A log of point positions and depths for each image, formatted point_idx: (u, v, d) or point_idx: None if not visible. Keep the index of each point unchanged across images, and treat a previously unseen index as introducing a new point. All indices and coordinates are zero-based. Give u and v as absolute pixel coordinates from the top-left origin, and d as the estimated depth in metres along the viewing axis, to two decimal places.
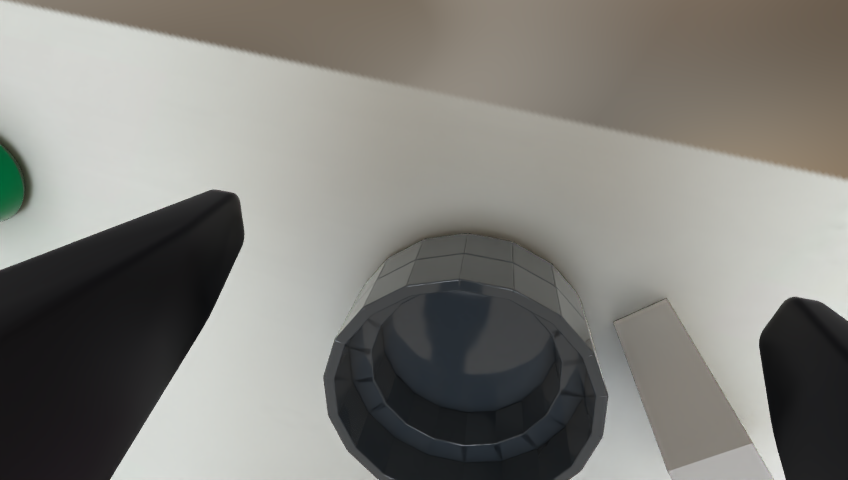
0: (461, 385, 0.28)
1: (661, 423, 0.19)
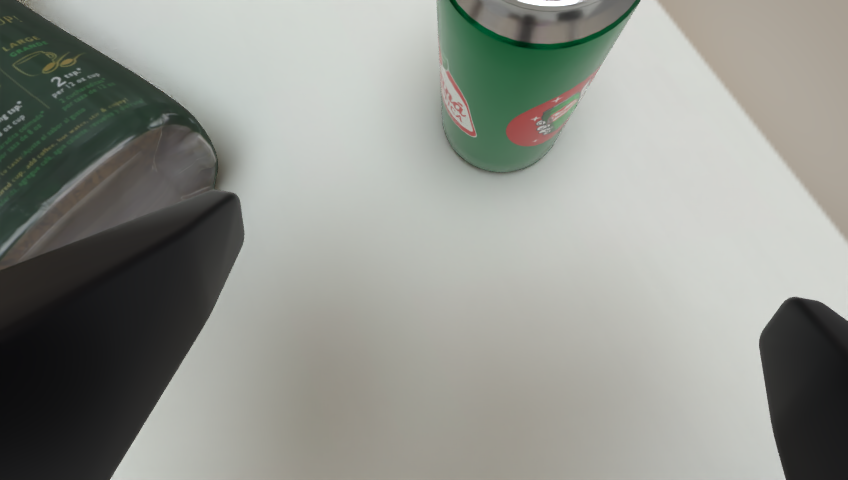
0: None
1: None
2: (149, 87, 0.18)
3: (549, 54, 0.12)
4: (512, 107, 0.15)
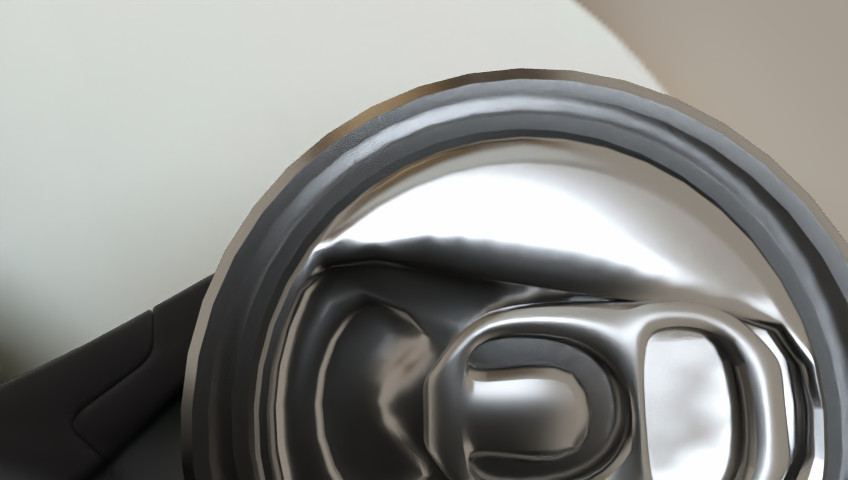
0: None
1: None
2: None
3: None
4: None
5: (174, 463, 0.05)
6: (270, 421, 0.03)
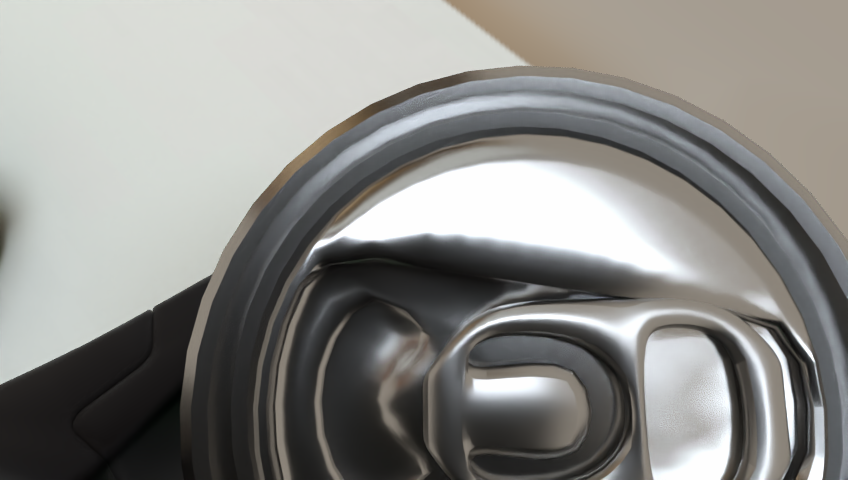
0: None
1: None
2: None
3: None
4: None
5: (174, 463, 0.05)
6: (270, 417, 0.03)
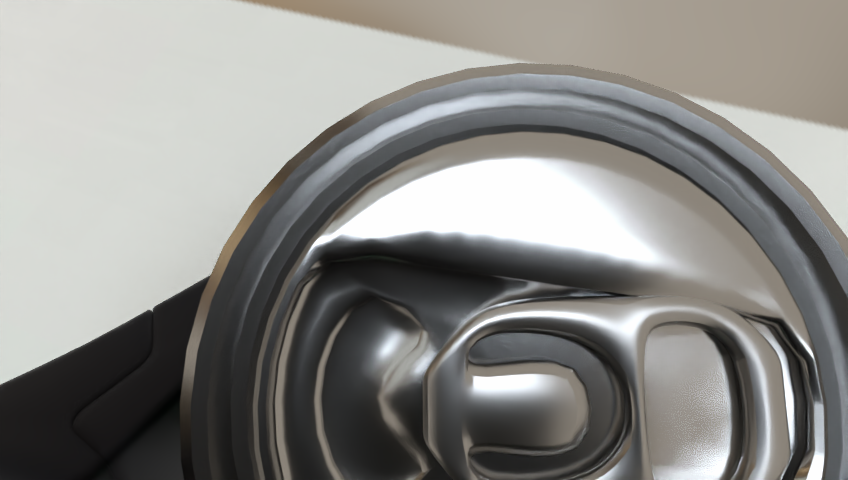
0: None
1: None
2: None
3: None
4: None
5: (174, 463, 0.05)
6: (268, 416, 0.03)
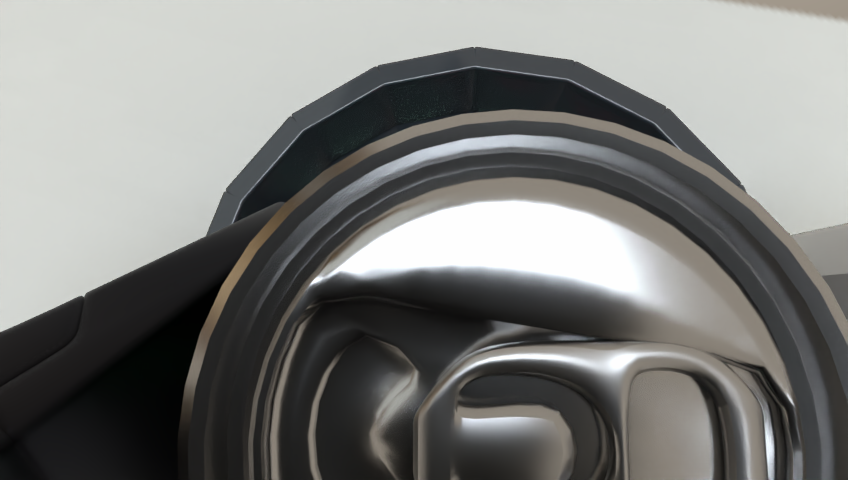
0: None
1: None
2: None
3: None
4: None
5: (96, 445, 0.05)
6: (265, 452, 0.03)
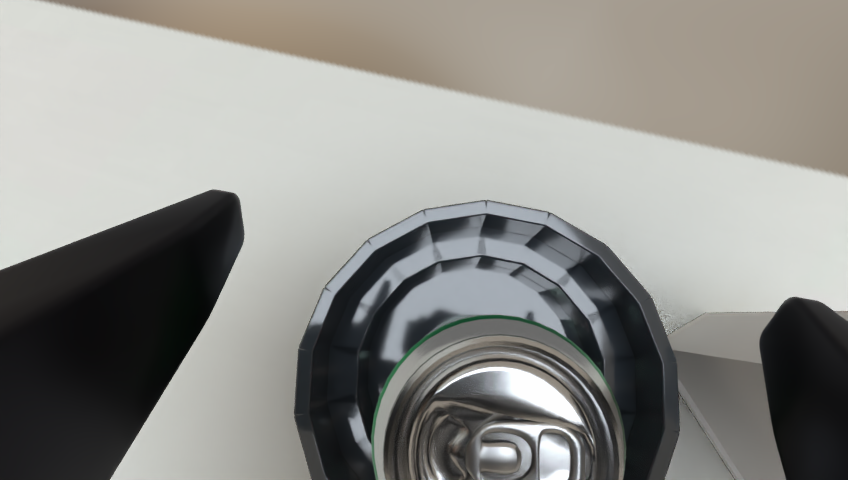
0: None
1: None
2: None
3: None
4: None
5: None
6: (414, 456, 0.09)
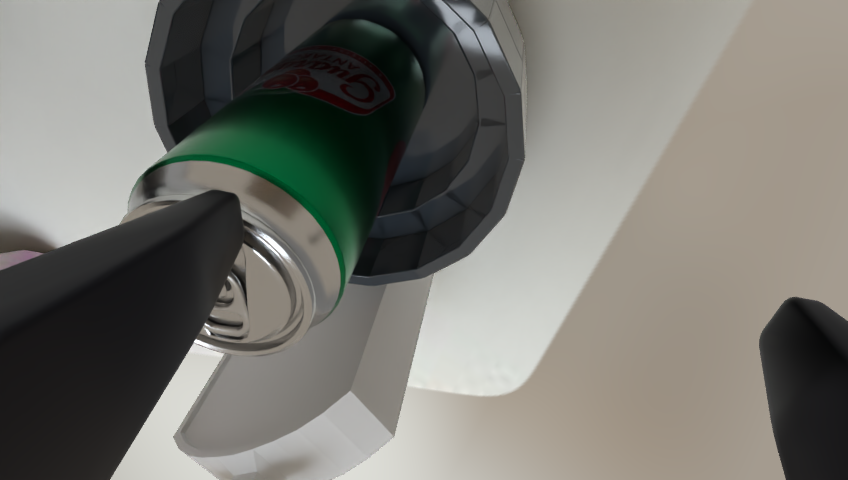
0: None
1: (371, 351, 0.19)
2: None
3: None
4: None
5: None
6: None
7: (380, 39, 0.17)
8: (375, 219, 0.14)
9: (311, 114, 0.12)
